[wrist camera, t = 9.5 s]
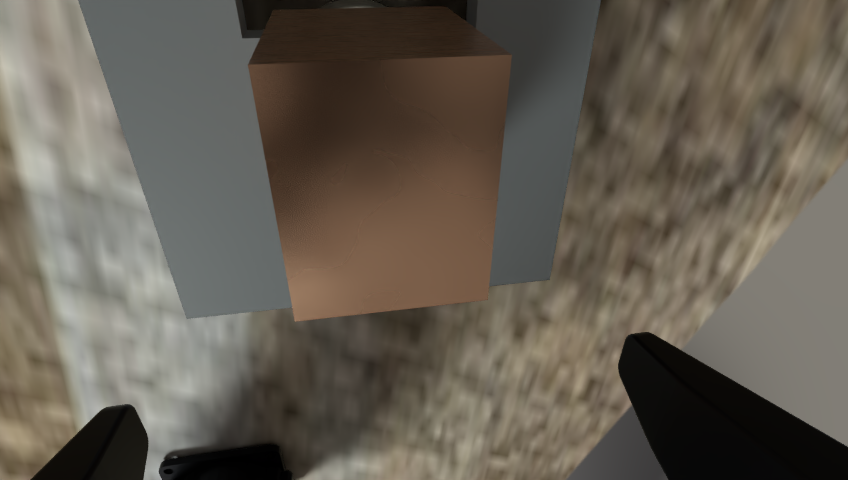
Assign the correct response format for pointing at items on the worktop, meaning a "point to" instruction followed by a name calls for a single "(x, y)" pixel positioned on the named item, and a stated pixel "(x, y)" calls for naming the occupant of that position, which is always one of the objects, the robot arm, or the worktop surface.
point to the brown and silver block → (381, 154)
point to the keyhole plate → (244, 156)
